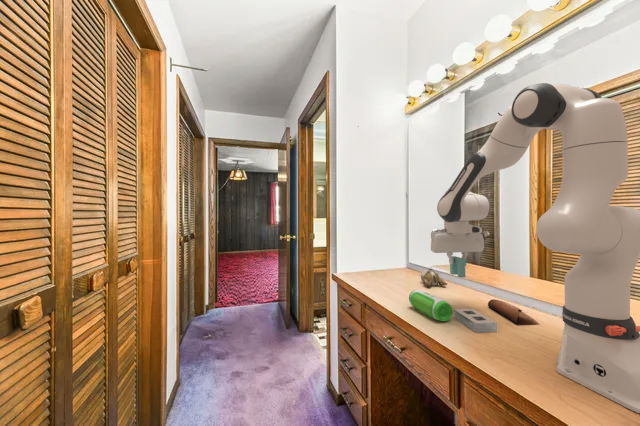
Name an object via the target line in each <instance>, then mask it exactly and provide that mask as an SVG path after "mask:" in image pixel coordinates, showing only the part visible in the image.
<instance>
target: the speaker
mask: <svg viewBox="0 0 640 426" xmlns="http://www.w3.org/2000/svg"><path fill="white" fill-rule="evenodd" d="M408 301H409V303H410V304H411V306H413V308H414V309H416V310H418V312H421V314H424V315H425V316H426V317H429V318H430V319H434V320H436V321H439V322H447V321H450V319H451V317H452V316H453V313H454V310H453V308H452V306H451V304H450V303H449V302H448V301H447V300H445V299H443V298H440V297H438V296H436V295H434V294H432V293H428V292H427V291H424V290H422V289H413V290H412V291H411V292H410V293H409V296H408Z"/></svg>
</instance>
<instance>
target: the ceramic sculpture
mask: <svg viewBox="0 0 640 426" xmlns="http://www.w3.org/2000/svg"><path fill="white" fill-rule="evenodd" d="M439 275H440V274H439V273H437V271H435V270H433V269H432V268H429V269H427V268H424V270H423V271H422V272H421V274H420V280H421V281H422V282H423V283H424V285H425V286H427V287H430V286H431V287H432V286H433V287H435V286H437V285H439V286H446V285H448V283H447V282H446V281H445V280H444V279H443V278H441V277H440V276H439Z"/></svg>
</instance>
